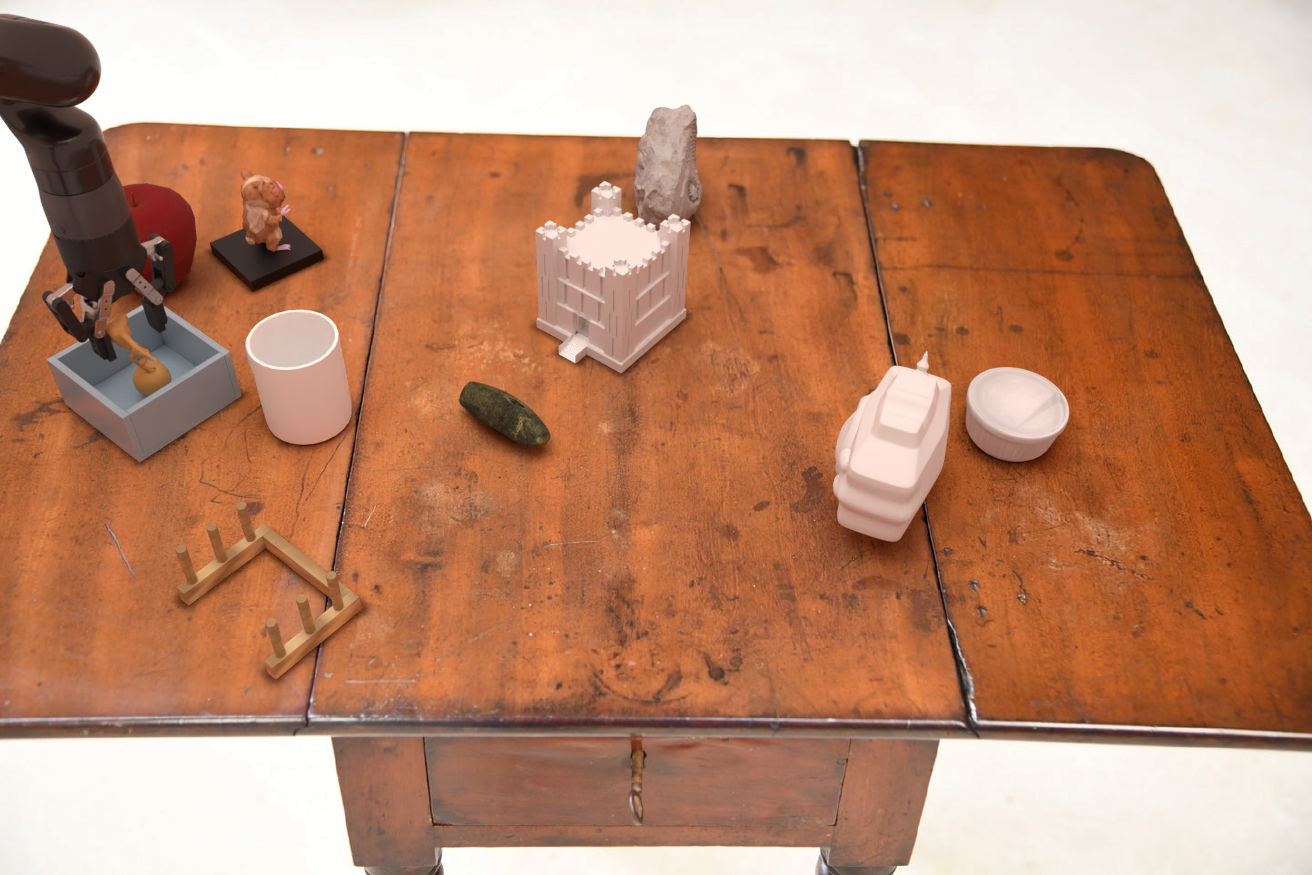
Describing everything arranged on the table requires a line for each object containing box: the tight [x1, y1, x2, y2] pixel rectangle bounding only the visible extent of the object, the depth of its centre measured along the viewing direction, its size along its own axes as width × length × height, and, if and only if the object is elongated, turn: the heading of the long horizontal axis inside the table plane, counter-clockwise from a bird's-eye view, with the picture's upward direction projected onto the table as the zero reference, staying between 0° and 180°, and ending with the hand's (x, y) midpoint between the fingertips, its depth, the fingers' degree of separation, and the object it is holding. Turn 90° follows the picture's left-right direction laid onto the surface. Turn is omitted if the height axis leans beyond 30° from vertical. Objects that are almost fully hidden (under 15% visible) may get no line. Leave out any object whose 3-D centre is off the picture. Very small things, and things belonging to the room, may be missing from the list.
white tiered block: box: [832, 350, 952, 543], centre depth 130 cm, size 11×18×16 cm, turn 158°
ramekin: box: [965, 366, 1070, 463], centre depth 141 cm, size 11×11×5 cm
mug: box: [244, 309, 353, 446], centre depth 137 cm, size 10×12×12 cm
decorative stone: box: [458, 380, 551, 448], centre depth 139 cm, size 11×8×5 cm
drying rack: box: [174, 501, 363, 680], centre depth 121 cm, size 11×14×7 cm
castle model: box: [534, 180, 692, 374], centre depth 148 cm, size 13×15×14 cm
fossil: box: [633, 103, 703, 231], centre depth 165 cm, size 16×9×15 cm, turn 172°
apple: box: [122, 182, 198, 286], centre depth 151 cm, size 12×12×13 cm
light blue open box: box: [46, 304, 243, 463], centre depth 139 cm, size 14×14×7 cm
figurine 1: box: [106, 312, 171, 396], centre depth 137 cm, size 8×6×12 cm
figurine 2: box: [209, 167, 325, 292], centre depth 156 cm, size 10×10×12 cm
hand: (133, 342), depth 136 cm, fingers open, 5 cm apart
